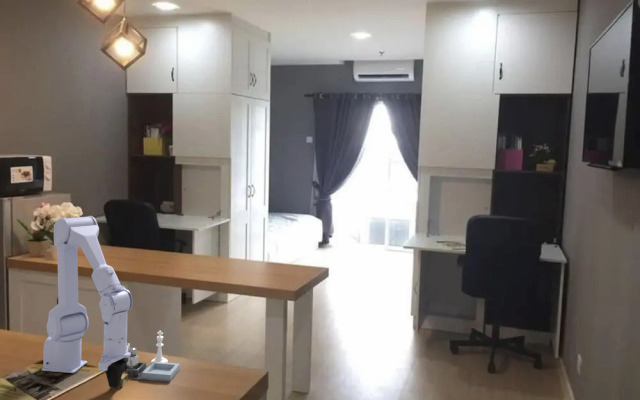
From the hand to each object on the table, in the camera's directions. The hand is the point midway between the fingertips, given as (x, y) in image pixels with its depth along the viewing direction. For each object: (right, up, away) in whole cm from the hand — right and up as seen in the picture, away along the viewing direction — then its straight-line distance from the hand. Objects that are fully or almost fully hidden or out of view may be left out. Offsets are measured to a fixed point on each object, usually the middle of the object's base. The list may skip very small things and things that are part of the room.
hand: (114, 386), depth 144 cm
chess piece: (+6, 0, +19) cm, 20 cm away
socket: (+1, 0, +12) cm, 12 cm away
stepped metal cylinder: (+1, 0, +12) cm, 12 cm away
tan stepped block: (0, -1, +4) cm, 4 cm away
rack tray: (+9, 0, +11) cm, 14 cm away
